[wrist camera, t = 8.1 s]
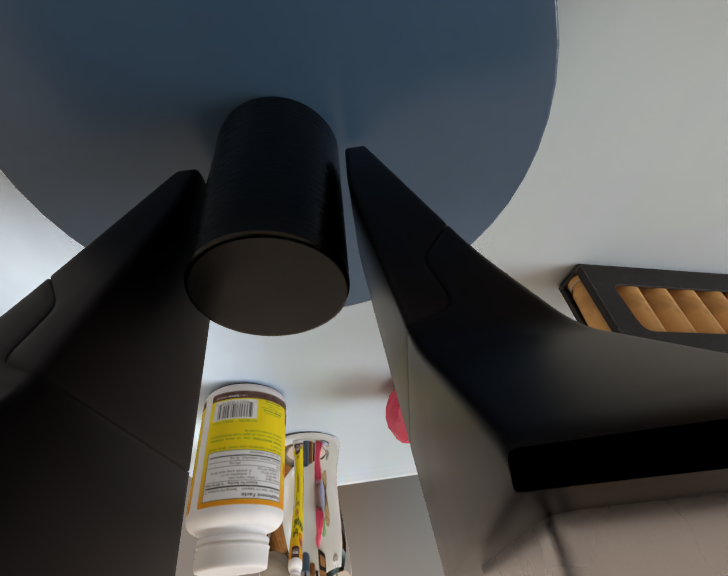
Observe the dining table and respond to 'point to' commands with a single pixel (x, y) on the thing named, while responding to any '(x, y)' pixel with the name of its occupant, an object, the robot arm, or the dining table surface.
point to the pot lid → (272, 127)
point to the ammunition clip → (652, 304)
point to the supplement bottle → (237, 480)
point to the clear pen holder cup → (310, 512)
